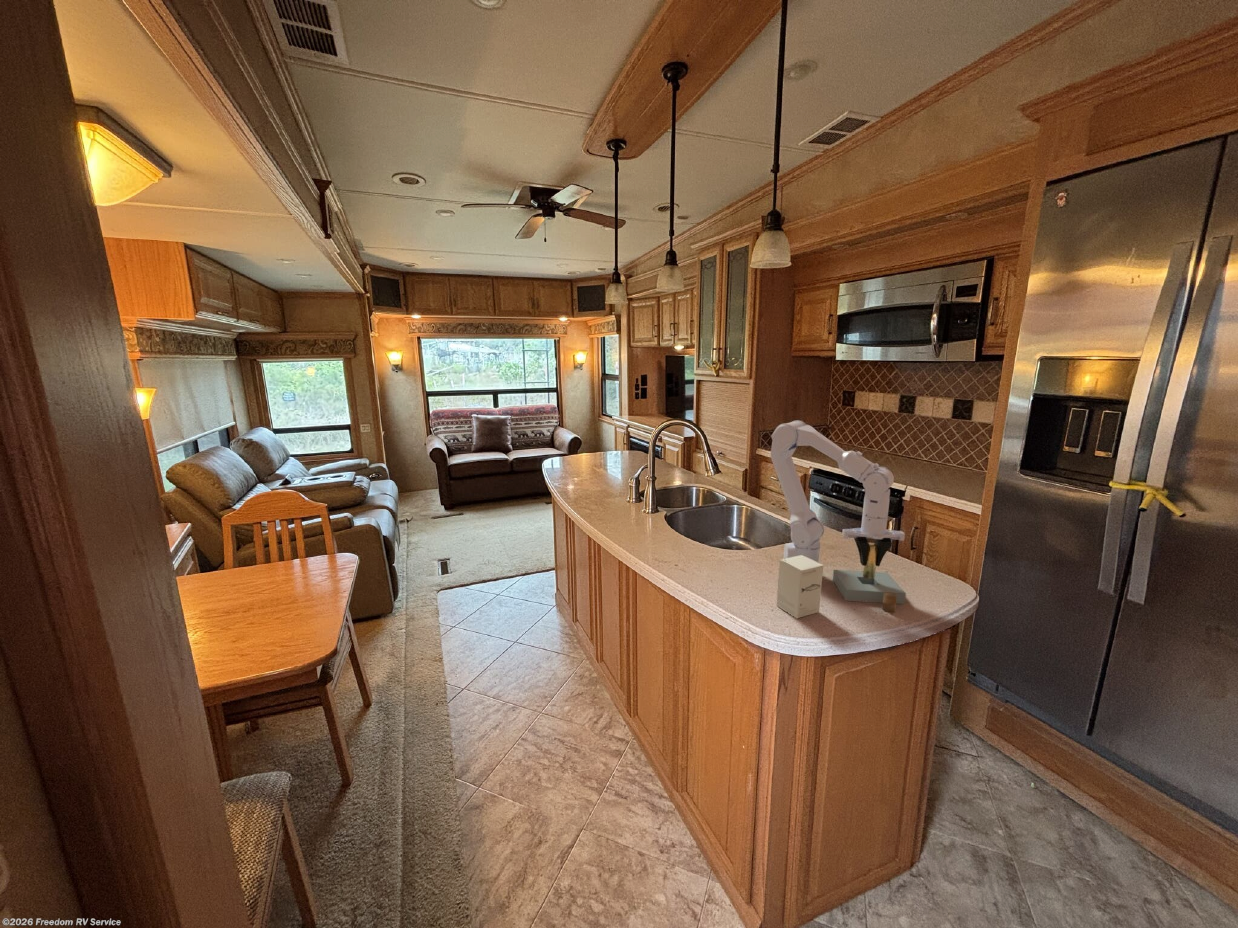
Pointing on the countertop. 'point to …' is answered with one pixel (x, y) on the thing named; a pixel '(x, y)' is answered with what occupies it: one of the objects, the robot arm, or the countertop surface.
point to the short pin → (889, 602)
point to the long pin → (871, 561)
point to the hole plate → (867, 586)
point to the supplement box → (799, 586)
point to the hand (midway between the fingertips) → (869, 564)
